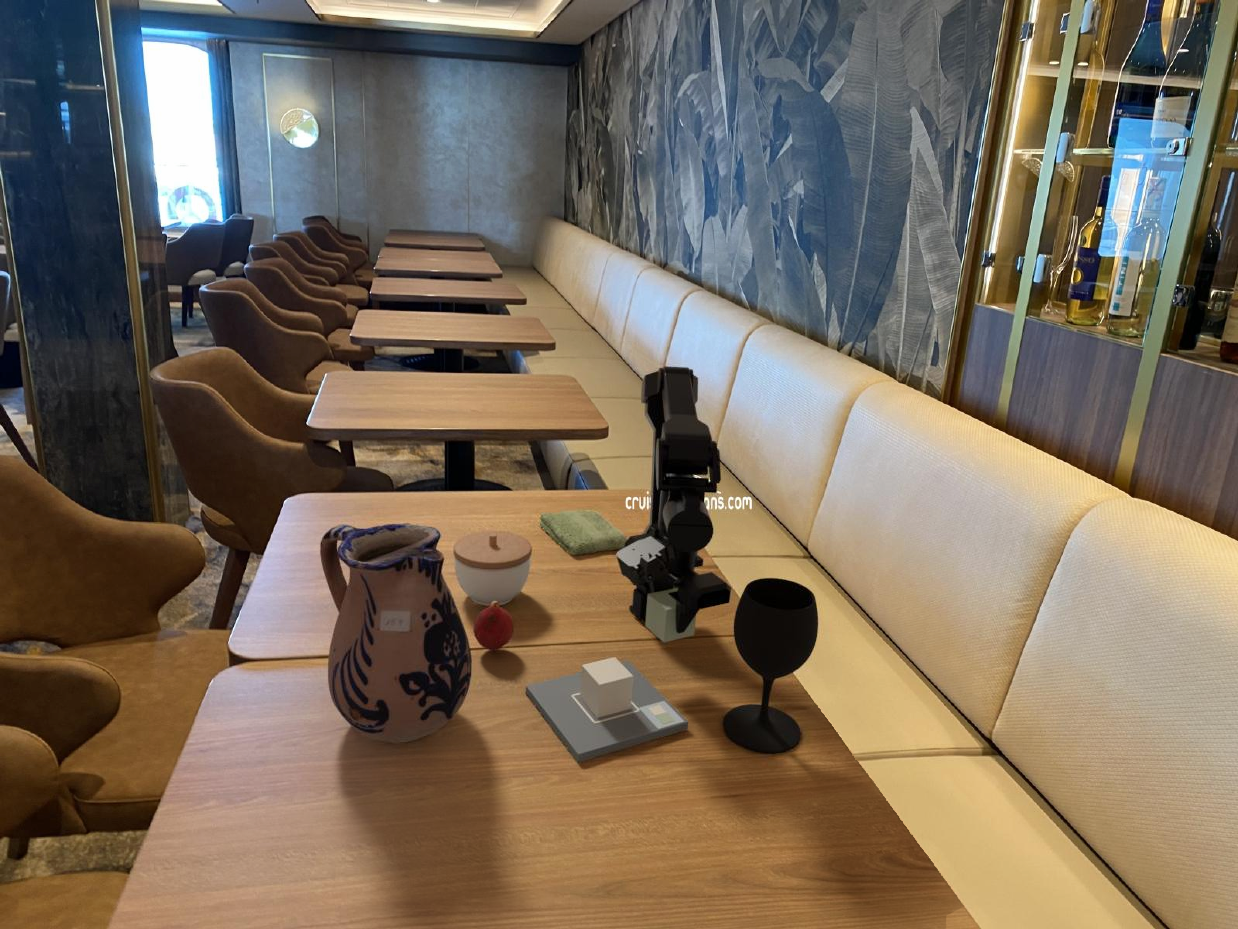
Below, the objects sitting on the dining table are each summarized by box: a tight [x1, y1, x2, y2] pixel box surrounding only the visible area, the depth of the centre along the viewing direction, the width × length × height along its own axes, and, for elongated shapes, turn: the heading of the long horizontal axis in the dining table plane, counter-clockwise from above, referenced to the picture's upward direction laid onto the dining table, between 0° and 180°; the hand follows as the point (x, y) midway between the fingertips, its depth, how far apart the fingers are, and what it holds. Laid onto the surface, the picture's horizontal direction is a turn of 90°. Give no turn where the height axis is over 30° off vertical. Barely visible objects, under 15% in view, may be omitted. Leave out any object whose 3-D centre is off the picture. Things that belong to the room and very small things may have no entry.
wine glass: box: [722, 577, 819, 755], centre depth 112 cm, size 10×10×20 cm
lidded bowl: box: [453, 530, 533, 607], centre depth 144 cm, size 13×13×11 cm
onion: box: [473, 601, 515, 652], centre depth 128 cm, size 6×6×8 cm
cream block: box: [580, 656, 633, 718], centre depth 116 cm, size 5×5×5 cm
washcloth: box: [539, 509, 628, 556], centre depth 171 cm, size 13×18×3 cm
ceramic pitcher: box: [319, 522, 473, 743], centre depth 109 cm, size 18×21×25 cm
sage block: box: [644, 588, 697, 643], centre depth 123 cm, size 5×5×5 cm
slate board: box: [525, 660, 689, 763], centre depth 117 cm, size 16×16×1 cm
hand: (670, 623), depth 123 cm, fingers closed on sage block, 5 cm apart
